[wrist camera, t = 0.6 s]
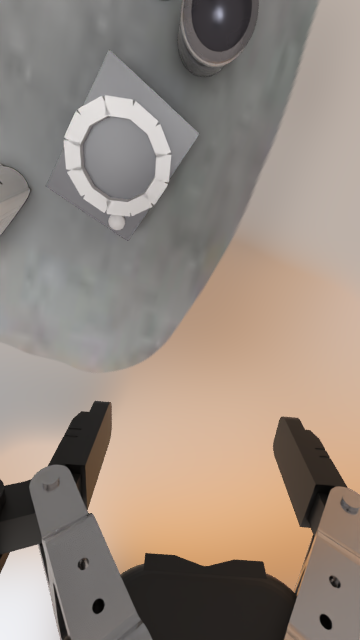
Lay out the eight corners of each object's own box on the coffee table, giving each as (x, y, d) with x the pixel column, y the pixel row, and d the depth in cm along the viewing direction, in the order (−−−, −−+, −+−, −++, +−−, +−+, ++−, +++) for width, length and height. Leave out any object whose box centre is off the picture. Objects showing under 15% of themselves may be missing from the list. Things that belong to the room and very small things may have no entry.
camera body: (60, 177, 31) (40, 188, 26) (116, 60, 26) (106, 45, 21) (132, 227, 35) (127, 245, 29) (194, 132, 29) (201, 134, 24)
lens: (164, 47, 26) (166, 19, 19) (201, -21, 24) (218, -80, 17) (208, 92, 28) (224, 81, 21) (246, 33, 26) (277, 0, 19)
